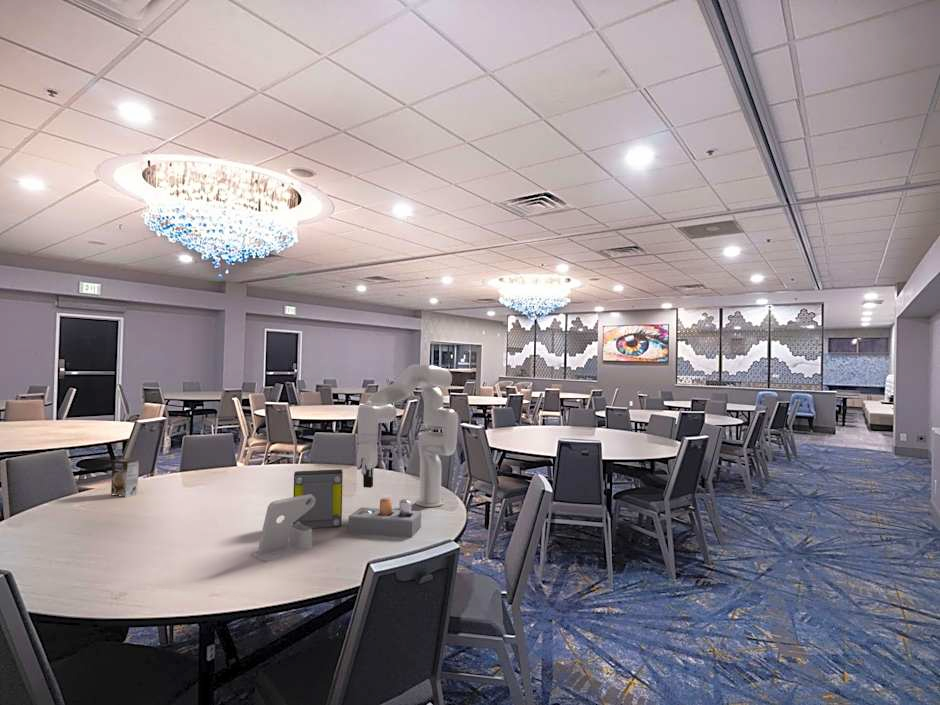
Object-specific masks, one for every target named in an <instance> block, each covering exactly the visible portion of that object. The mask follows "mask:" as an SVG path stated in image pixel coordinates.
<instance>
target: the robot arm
mask: <svg viewBox="0 0 940 705" xmlns="http://www.w3.org/2000/svg"><path fill="white" fill-rule="evenodd" d="M452 382H453V374H452V373H451V372H450V370H449V369H447V368H443V367H440V366H436V365H431V364H411V365H409V366H407V367H406V369H405V370H403V371H402V373H401V374H400V375H399V376H398V377H397V378H396V380H395V381H394V382H393V383H391V384H389V385H387V386H385V387H383V388H381V389H379V390H378V391H375V392H374V393H373V394H372V395H370V396H369V397H368V399H366V401H365V402H364V404H362V405H360V406H359V407H358V409H357V443H358V446H357V454H356V469H357V470H358V471H360V470H361V475H362V477H363V478H362V479H363V481H362V482H363V483H362V484H363V488H373V486H374V469H375V467H376V466H377V465H378V461H379V460H378V458H379V457H378V455H379V454H378V443H379V424H380V423H381V424H388V423H391V422H393V421H394V420H395V419H396V417H397V413H398V410H397V408H396V407H395V406H394V405H393V403H398V402H401V401H404V400H407V399H408V398H409V397H410V396H411V394H412V393H413V392H414V391H415V390H416V389H417V387H419V388H420V389H421V391H422V393H423V396H424V404H423V405H424V406H423V419H422V420H423V425H424V427H425V428H427V429H430V430H442V432H438V431H437V432H436V431H435V432H434V431H426V432H423V433H421V434H420V436H419V437H418V441H417V445H418V451H419V465H420V466H419V498H418V499H416V500H415V504H416V506H419V507H427V508H432V507H433V508H434V507H441V506H443V505H444V504H445V500H444V499H442V461H441V458H440V457H439V456H447V457H448V456H451V455H452V456H453V454H454V453H455V451H456V449H457V443H458V432H459V431H458V429H459V417H458V415H457V412H456V411H455V410H454V409H452V408H444V394H443V392H442V390H441V389H447V388H449V387H450V386H451V385H452Z"/></svg>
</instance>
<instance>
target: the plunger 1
mask: <svg viewBox="0 0 940 705" xmlns="http://www.w3.org/2000/svg"><path fill="white" fill-rule="evenodd" d="M360 514H366V515H371V514H372V510H369V509H366V510H362V511H361V513H360Z"/></svg>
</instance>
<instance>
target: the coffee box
mask: <svg viewBox="0 0 940 705" xmlns="http://www.w3.org/2000/svg"><path fill="white" fill-rule="evenodd" d="M111 462H112V463H111V491H110V495H111V494H115V495H121V496H129V495H133V494H137V495H138V489H139V470H140V469H139V468H140V467H139V465H140V464H139V463H140V459H134V458H119V459H113V460H111ZM133 496H134V495H133ZM129 497H130V496H129Z"/></svg>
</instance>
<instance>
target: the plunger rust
mask: <svg viewBox="0 0 940 705" xmlns="http://www.w3.org/2000/svg"><path fill="white" fill-rule="evenodd" d="M392 507H393V499H391V498H389V497H384V498H381V499H380V500H379V509H380V515H391V514H392V510H393V509H392Z"/></svg>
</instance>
